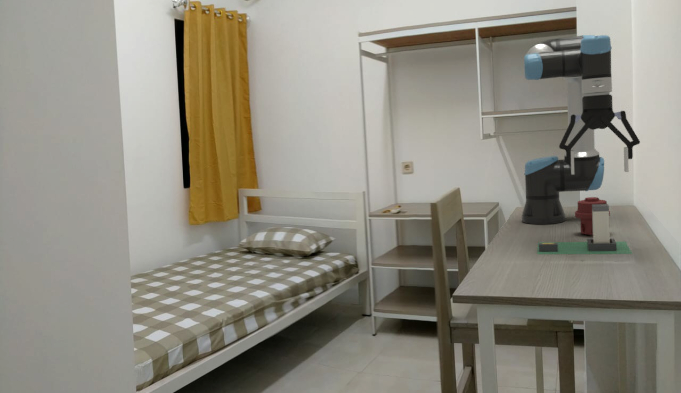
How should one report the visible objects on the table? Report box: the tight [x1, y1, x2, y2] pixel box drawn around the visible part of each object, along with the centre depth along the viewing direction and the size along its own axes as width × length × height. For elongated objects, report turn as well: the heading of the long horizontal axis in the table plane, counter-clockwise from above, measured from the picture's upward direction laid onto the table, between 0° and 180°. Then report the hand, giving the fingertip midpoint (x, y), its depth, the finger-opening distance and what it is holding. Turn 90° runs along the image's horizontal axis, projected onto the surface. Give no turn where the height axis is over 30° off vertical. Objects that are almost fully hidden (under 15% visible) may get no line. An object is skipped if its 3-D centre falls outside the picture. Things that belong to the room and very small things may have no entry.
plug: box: [592, 203, 611, 243], centre depth 171 cm, size 4×4×12 cm
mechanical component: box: [574, 196, 611, 237], centre depth 191 cm, size 12×10×10 cm
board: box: [536, 238, 633, 255], centre depth 174 cm, size 16×24×3 cm, turn 71°
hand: (599, 172), depth 169 cm, fingers open, 13 cm apart
